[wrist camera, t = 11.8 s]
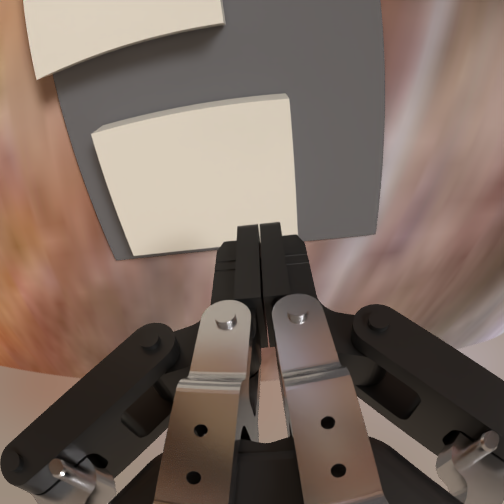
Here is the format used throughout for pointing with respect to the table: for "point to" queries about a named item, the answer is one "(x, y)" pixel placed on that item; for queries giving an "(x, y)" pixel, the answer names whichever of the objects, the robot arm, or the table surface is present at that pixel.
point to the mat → (255, 84)
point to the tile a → (107, 26)
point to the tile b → (200, 172)
